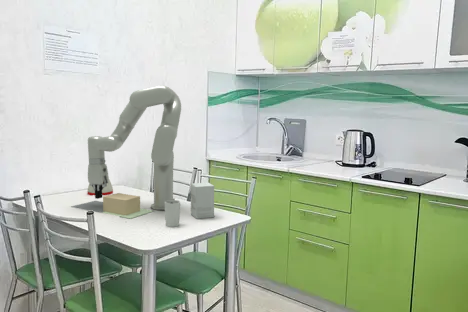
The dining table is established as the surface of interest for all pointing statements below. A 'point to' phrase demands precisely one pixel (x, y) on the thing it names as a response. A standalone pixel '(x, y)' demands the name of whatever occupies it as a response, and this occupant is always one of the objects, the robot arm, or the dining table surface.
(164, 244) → the dining table surface
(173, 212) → the drinking glass
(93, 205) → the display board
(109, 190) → the grey domed piece
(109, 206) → the kraft carton
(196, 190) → the supplement box
